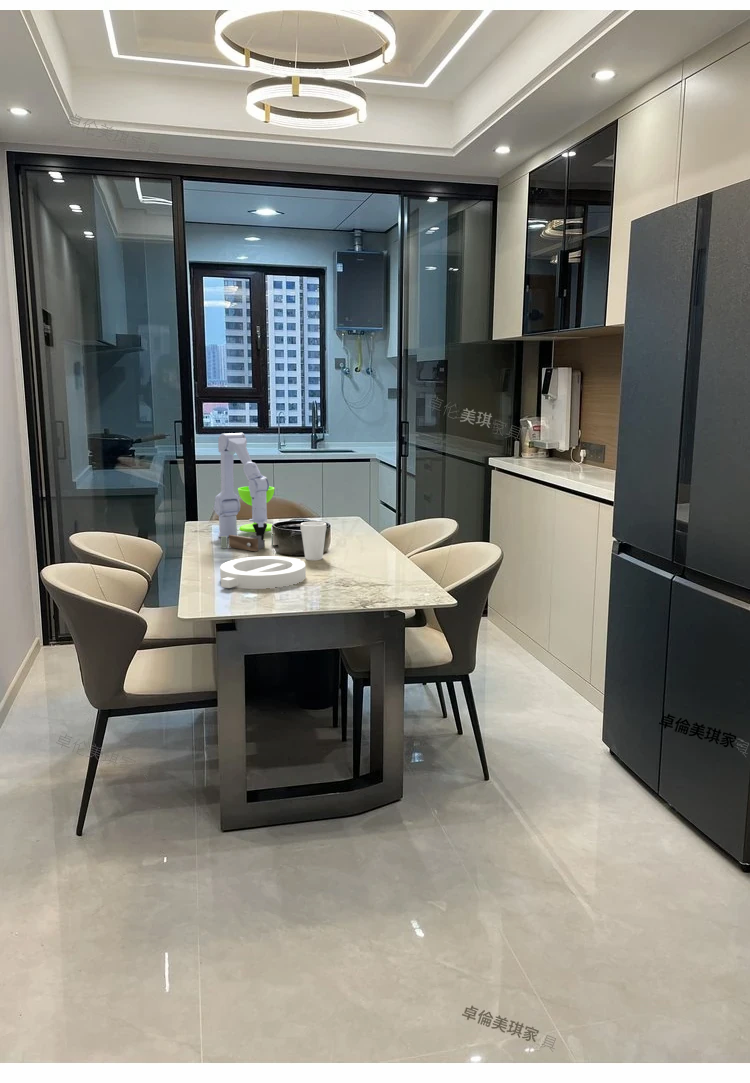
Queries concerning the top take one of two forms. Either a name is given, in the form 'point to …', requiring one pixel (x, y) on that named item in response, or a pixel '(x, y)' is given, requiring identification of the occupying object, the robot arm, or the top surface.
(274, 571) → the ring with crossbar
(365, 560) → the top surface
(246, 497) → the wineglass
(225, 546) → the pale green rectangular bar
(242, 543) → the brown rectangular bar
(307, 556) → the foam cup
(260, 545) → the grey notched block
